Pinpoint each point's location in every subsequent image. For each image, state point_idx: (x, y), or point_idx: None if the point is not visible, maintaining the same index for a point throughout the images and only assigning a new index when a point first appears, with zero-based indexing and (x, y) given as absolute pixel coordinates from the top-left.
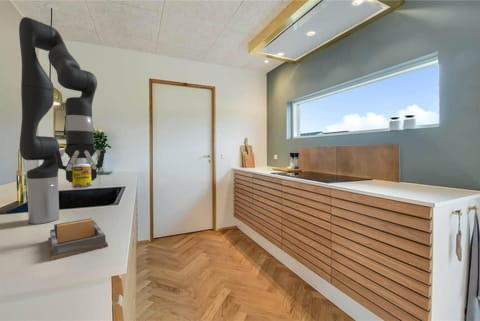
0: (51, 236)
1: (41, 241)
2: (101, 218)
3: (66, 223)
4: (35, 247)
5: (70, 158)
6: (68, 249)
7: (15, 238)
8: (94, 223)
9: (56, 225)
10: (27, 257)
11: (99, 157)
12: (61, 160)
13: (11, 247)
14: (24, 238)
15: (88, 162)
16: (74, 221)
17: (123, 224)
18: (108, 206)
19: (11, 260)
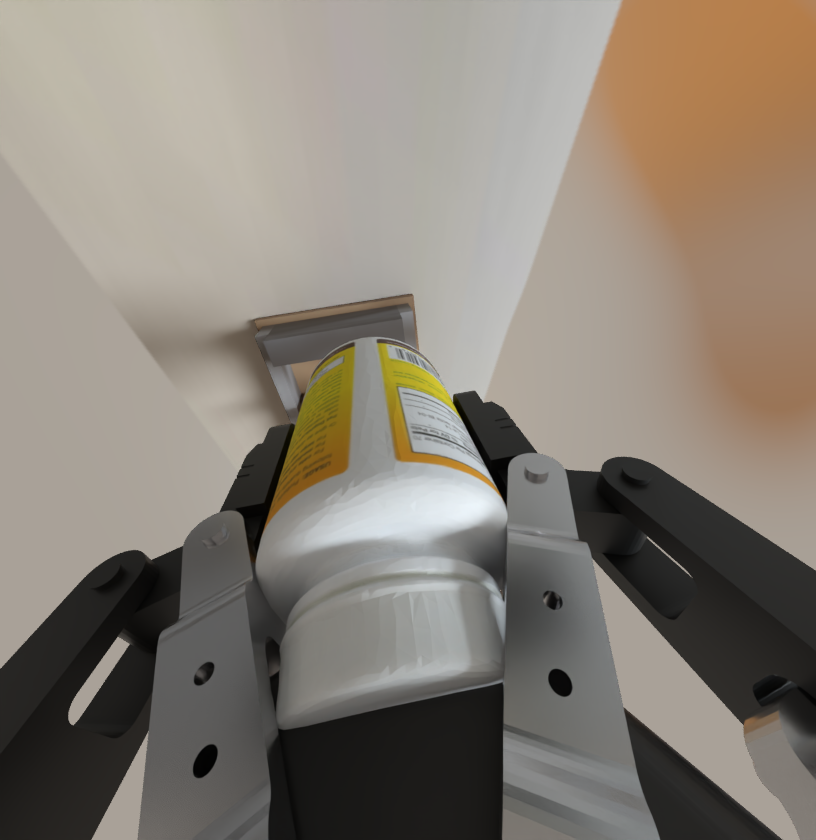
0: (287, 413)
1: (235, 318)
2: (454, 9)
3: (310, 351)
4: (242, 370)
5: (180, 739)
6: None
7: (82, 205)
8: (409, 332)
9: (277, 360)
10: (255, 431)
11: (723, 671)
12: (128, 760)
13: (153, 331)
14: (134, 232)
15: (503, 576)
16: (336, 334)
17: (514, 263)
18: None
19: (223, 433)
